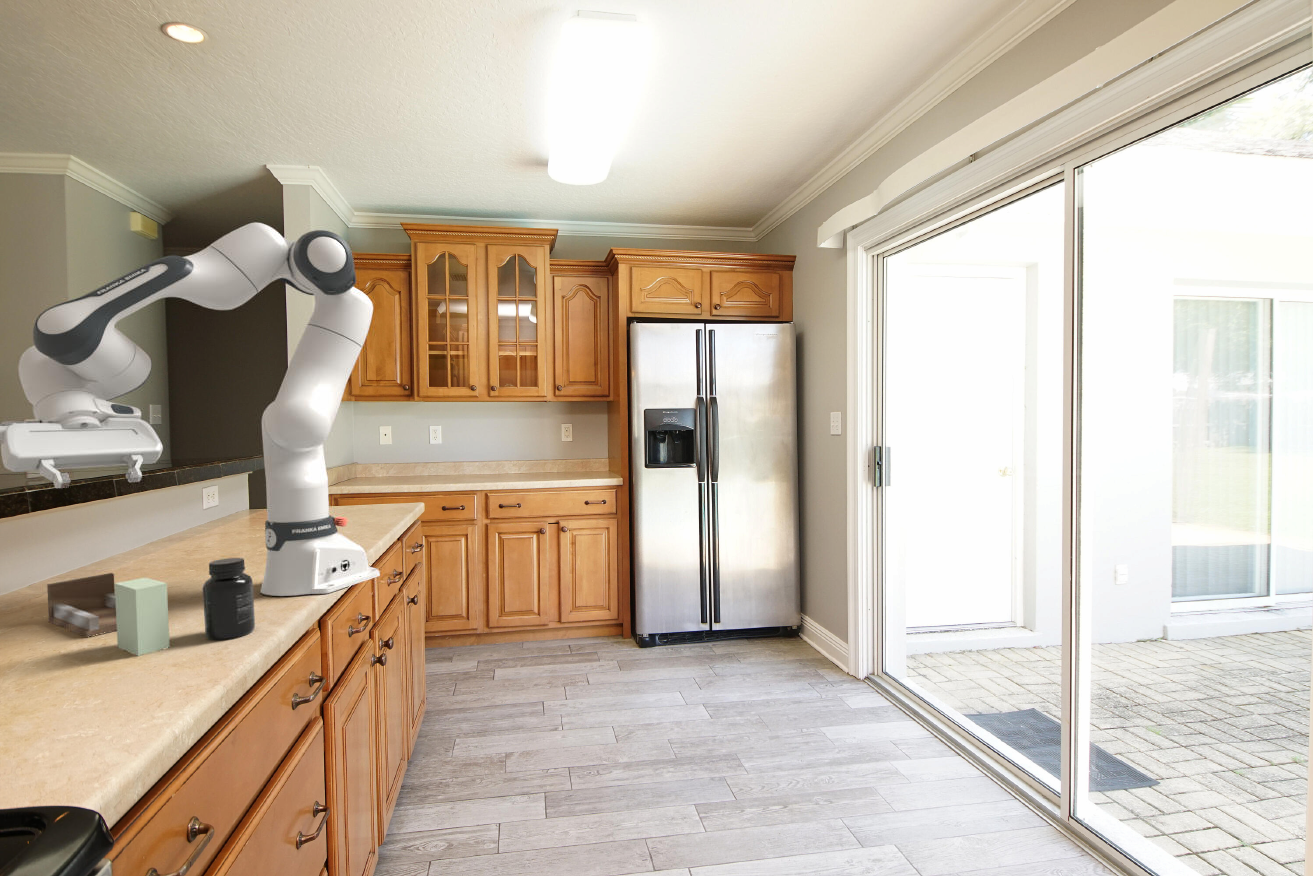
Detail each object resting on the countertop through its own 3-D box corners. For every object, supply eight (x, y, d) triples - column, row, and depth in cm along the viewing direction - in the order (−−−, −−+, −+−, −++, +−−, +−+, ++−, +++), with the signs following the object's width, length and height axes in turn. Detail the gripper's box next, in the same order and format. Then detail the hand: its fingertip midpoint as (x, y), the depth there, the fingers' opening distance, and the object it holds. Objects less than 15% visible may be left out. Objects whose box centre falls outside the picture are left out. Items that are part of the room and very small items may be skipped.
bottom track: (49, 621, 114) (47, 584, 113) (112, 607, 121) (111, 572, 121) (87, 637, 106) (85, 597, 105) (153, 621, 113) (151, 584, 113)
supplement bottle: (249, 623, 112) (246, 553, 111) (259, 633, 107) (257, 560, 106) (200, 633, 107) (197, 560, 107) (209, 644, 102) (206, 567, 102)
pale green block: (117, 647, 101) (114, 583, 101) (148, 639, 105) (145, 577, 104) (138, 656, 98) (135, 589, 97) (169, 647, 101) (166, 583, 101)
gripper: (-8, 407, 101) (19, 474, 96) (149, 407, 118) (178, 464, 114) (-16, 436, 103) (9, 503, 99) (139, 432, 121) (166, 488, 116)
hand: (101, 482), depth 106 cm, fingers open, 8 cm apart
